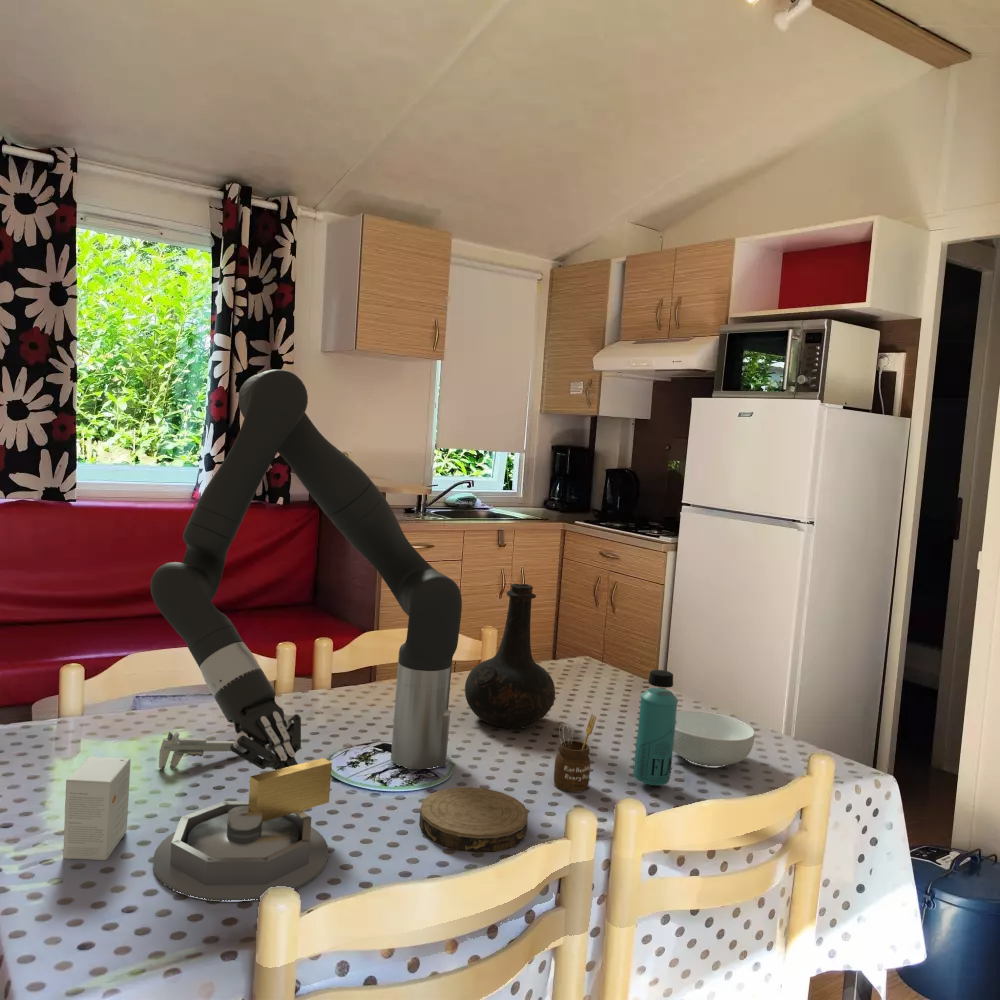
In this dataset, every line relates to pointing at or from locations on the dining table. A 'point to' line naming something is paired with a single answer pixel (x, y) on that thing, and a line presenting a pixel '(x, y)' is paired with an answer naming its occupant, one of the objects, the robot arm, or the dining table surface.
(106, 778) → the small box
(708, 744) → the cereal bowl
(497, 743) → the dining table surface
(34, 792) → the dining table surface
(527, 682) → the glass bottle
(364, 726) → the dining table surface
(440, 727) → the robot arm
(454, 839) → the wooden log slice
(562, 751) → the utensil holder
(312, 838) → the dial housing
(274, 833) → the dial
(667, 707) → the beverage bottle
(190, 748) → the caliper
